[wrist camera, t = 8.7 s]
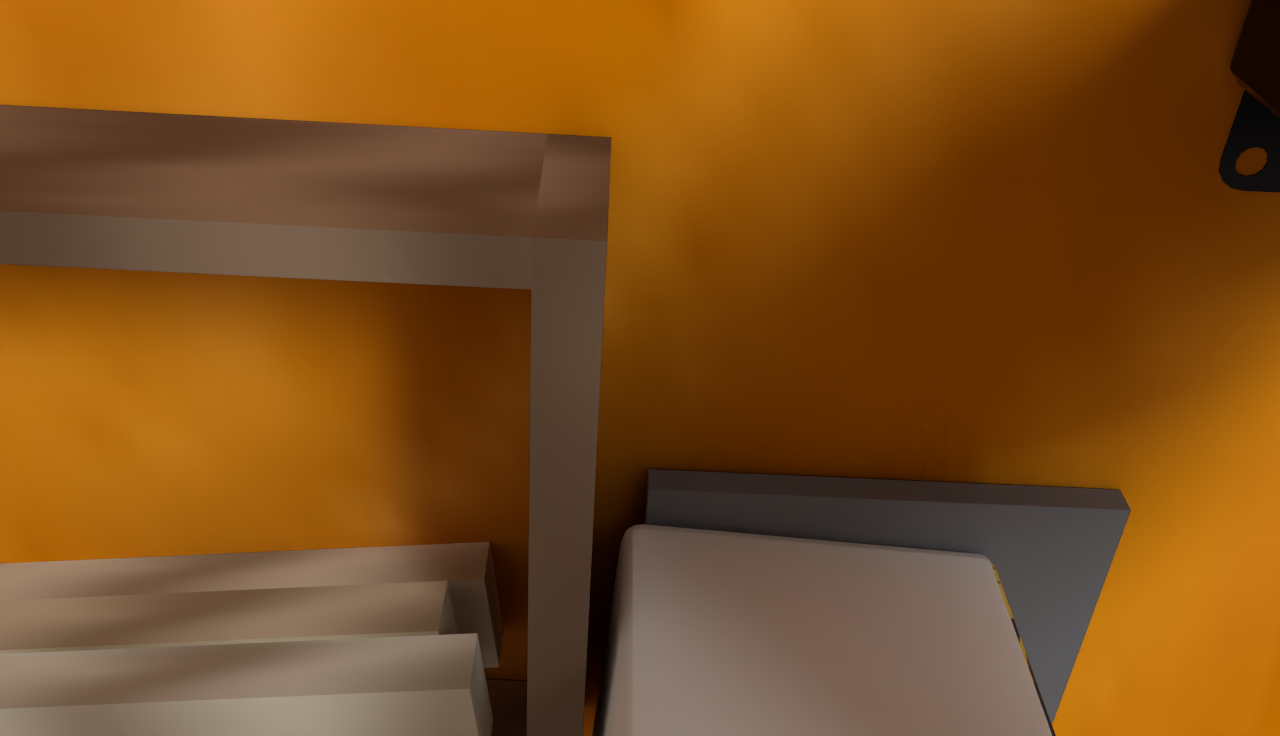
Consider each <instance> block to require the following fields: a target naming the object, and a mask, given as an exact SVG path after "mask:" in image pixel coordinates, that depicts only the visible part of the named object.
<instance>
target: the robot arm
mask: <svg viewBox="0 0 1280 736" xmlns="http://www.w3.org/2000/svg"><path fill="white" fill-rule="evenodd" d="M1230 69H1231V71H1232V73H1233V75H1234V76H1235V78H1236V79H1237V81H1238V82H1239V84H1240V85H1241V86H1242V87H1243V88H1244V89H1245V91H1244V94H1243V97H1242V100H1241V102H1240V105H1239V108H1238V111H1237V114H1236V117H1235V120H1234V123H1233V125H1232V128H1231V131H1230V134H1229V137H1228V140H1227V143H1226V145H1225V148H1224V151H1223V154H1222V157H1221V160H1220V167H1219V172H1220V175H1221V178H1222V181H1223V182H1225V183H1226V184H1227V185H1228V186H1229V187H1230V188H1234V189H1237V190H1242V191H1261V192H1280V0H1252V2H1251V5H1250V8H1249V11H1248V14H1247V17H1246V20H1245V23H1244V26H1243V29H1242V32H1241V35H1240V38H1239V41H1238V44H1237V47H1236V50H1235V53H1234V56H1233V59H1232V62H1231V66H1230ZM1254 147H1259V148H1262V149H1264V150H1265V151H1266V153H1267V154H1268V157H1267V163H1266V165H1265V166H1264V168H1263V169H1262V170H1261V171H1259V172H1258V173H1256V174H1255V175H1250V176H1243V175H1240V174H1238V172H1237V171H1236V169H1235V166H1236V160H1237V159H1238V157H1239V155H1240V154H1241V153H1242V152H1244V151H1245V150H1247V149H1248V148H1254Z"/></svg>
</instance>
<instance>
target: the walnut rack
mask: <svg viewBox="0 0 1280 736" xmlns="http://www.w3.org/2000/svg"><path fill="white" fill-rule="evenodd" d="M610 153H611V137H595V136H576V135H557V134H538V133H520V132H501V131H482V130H463V129H444V128H426V127H407V126H388V125H369V124H351V123H332V122H313V121H294V120H275V119H257V118H238V117H219V116H200V115H181V114H163V113H144V112H125V111H106V110H87V109H69V108H50V107H31V106H12V105H0V264H14V265H35V266H56V267H76V268H97V269H117V270H138V271H158V272H179V273H200V274H220V275H241V276H261V277H282V278H302V279H323V280H344V281H364V282H385V283H405V284H426V285H447V286H467V287H488V288H508V289H529V290H531V382H530V477H529V572H528V668H527V681H511V680H486V683H487V688H488V694H489V699H490V705H491V710H492V716H493V724H492V732H491V736H583V722H584V702H585V682H586V661H587V641H588V620H589V600H590V579H591V559H592V539H593V518H594V498H595V477H596V457H597V437H598V416H599V396H600V375H601V355H602V334H603V314H604V294H605V273H606V253H607V230H608V205H609V179H610Z"/></svg>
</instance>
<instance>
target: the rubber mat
mask: <svg viewBox="0 0 1280 736" xmlns="http://www.w3.org/2000/svg"><path fill="white" fill-rule="evenodd" d="M1130 511H1131V510H1130V508H1129V506H1128V504H1127V502H1126V500H1125V498H1124V496H1123V494H1122V492H1121V491H1120V490H1116V489H1093V488H1070V487H1047V486H1024V485H1001V484H978V483H955V482H932V481H909V480H886V479H863V478H840V477H817V476H794V475H771V474H748V473H725V472H702V471H679V470H656V469H648V480H647V493H646V506H645V518H644V524H646V525H657V526H668V527H679V528H691V529H702V530H713V531H725V532H736V533H747V534H759V535H770V536H781V537H793V538H804V539H815V540H827V541H838V542H849V543H860V544H872V545H883V546H894V547H906V548H917V549H928V550H940V551H951V552H962V553H974V554H980V555H983V556H986V557H987V558H988V559H989V560H990V562H991V563H992V564H993V565H994V566H995V568H996V571H997V573H998V576H999V579H1000V582H1001V585H1002V587H1003V590H1004V593H1005V596H1006V599H1007V601H1008V604H1009V607H1010V610H1011V612H1012V615H1013V618H1014V621H1015V624H1016V626H1017V629H1018V632H1019V635H1020V638H1021V640H1022V643H1023V646H1024V649H1025V652H1026V654H1027V657H1028V660H1029V663H1030V665H1031V668H1032V671H1033V674H1034V677H1035V679H1036V682H1037V685H1038V688H1039V691H1040V693H1041V696H1042V699H1043V702H1044V705H1045V707H1046V710H1047V713H1048V716H1049V718H1050V721H1051V724H1052V723H1053V720H1054V717H1055V715H1056V712H1057V709H1058V707H1059V704H1060V701H1061V698H1062V696H1063V693H1064V690H1065V688H1066V685H1067V682H1068V679H1069V677H1070V674H1071V671H1072V669H1073V666H1074V663H1075V660H1076V658H1077V655H1078V652H1079V650H1080V647H1081V644H1082V641H1083V639H1084V636H1085V633H1086V631H1087V628H1088V625H1089V622H1090V620H1091V617H1092V614H1093V611H1094V609H1095V606H1096V603H1097V601H1098V598H1099V595H1100V592H1101V590H1102V587H1103V584H1104V582H1105V579H1106V576H1107V573H1108V571H1109V568H1110V565H1111V563H1112V560H1113V557H1114V554H1115V552H1116V549H1117V546H1118V544H1119V541H1120V538H1121V535H1122V533H1123V530H1124V527H1125V525H1126V522H1127V519H1128V516H1129V514H1130Z"/></svg>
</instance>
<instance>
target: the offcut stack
mask: <svg viewBox="0 0 1280 736" xmlns="http://www.w3.org/2000/svg"><path fill="white" fill-rule="evenodd" d="M503 632H504V627H503V621H502V614H501V608H500V602H499V596H498V590H497V584H496V578H495V572H494V566H493V560H492V554H491V548H490V542H473V543H451V544H429V545H406V546H384V547H362V548H339V549H317V550H295V551H272V552H250V553H228V554H205V555H183V556H161V557H138V558H116V559H94V560H71V561H49V562H27V563H4V564H0V736H491V732H492V724H493V716H492V710H491V705H490V699H489V694H488V688H487V683H486V677H485V672H484V668H494V667H499V665H500V657H501V648H502V640H503Z"/></svg>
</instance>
